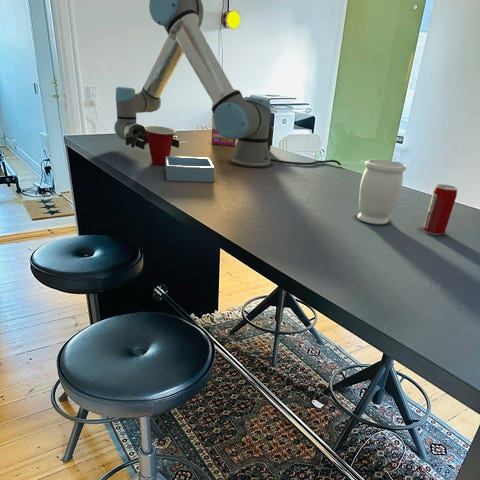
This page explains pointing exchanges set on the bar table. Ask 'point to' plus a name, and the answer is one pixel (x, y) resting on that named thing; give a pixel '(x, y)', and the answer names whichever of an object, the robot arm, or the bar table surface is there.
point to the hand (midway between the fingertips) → (161, 144)
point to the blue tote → (189, 169)
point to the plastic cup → (159, 143)
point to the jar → (379, 190)
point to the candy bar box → (220, 137)
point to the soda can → (440, 209)
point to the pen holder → (269, 138)
